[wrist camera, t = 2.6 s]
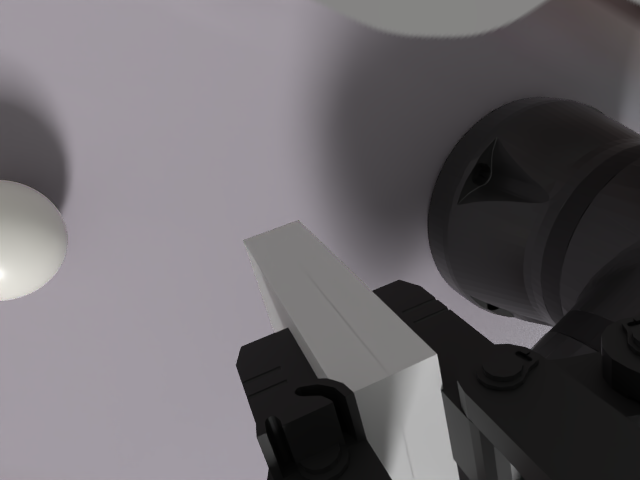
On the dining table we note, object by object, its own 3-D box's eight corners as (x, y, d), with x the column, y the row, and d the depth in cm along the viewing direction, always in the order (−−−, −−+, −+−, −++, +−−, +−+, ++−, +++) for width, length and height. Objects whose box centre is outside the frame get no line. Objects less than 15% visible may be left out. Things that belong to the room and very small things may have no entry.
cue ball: (44, 154, 25) (23, 177, 20) (90, 251, 27) (82, 293, 22) (-77, 190, 24) (-130, 224, 19) (-18, 288, 26) (-52, 342, 21)
